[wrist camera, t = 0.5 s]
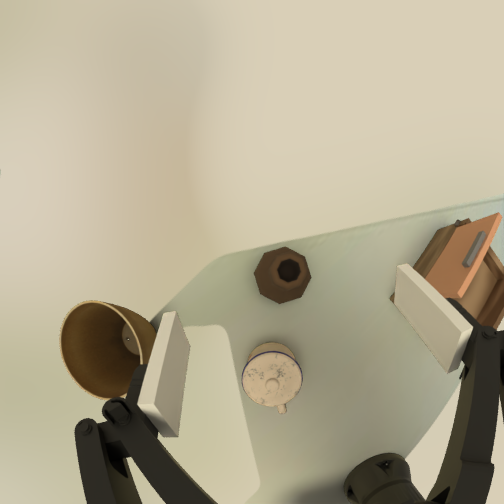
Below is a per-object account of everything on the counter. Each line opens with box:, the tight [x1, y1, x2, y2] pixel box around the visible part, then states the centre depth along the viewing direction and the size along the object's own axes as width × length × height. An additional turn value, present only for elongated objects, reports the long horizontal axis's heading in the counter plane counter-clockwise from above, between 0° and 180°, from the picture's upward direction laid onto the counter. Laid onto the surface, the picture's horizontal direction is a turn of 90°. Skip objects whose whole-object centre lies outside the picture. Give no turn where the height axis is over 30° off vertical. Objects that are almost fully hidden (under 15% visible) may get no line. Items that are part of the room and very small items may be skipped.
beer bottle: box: [254, 247, 311, 304], centre depth 38 cm, size 8×8×24 cm
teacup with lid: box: [242, 342, 302, 414], centre depth 43 cm, size 12×9×12 cm
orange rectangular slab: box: [425, 212, 502, 298], centre depth 35 cm, size 2×15×12 cm, turn 137°
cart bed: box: [390, 218, 504, 330], centre depth 41 cm, size 17×18×14 cm
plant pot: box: [59, 300, 157, 400], centre depth 42 cm, size 15×15×16 cm
